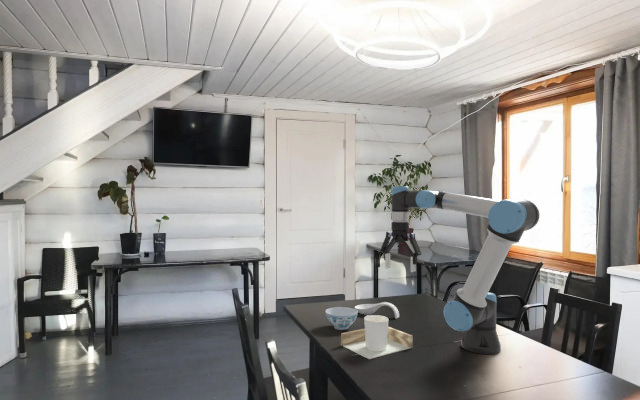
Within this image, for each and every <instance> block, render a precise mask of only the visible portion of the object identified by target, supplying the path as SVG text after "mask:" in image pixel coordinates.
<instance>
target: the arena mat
mask: <svg viewBox="0 0 640 400" xmlns="http://www.w3.org/2000/svg"><path fill="white" fill-rule="evenodd" d="M342 347H343V348H345V349H348V350H350V351H351V352H353V353H356V354H357V355H359V356H361V357H364V358H366V359H368V360H372V359H375V358H378V357H383V356H388V355H391V354H394V353H398V352H402V351H406V350H409V349H413V347H407V346H405V345H402V344H400V343H397V342H395V341H392V340H390V339H388V338H387V348H386V350H384V351H381V352H374V351H370V350H368V349H366V344H365V341H361V342H357V343H353V344H348V345H344V346H342Z"/></svg>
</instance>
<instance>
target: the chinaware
mask: <svg viewBox="0 0 640 400" xmlns="http://www.w3.org/2000/svg"><path fill="white" fill-rule="evenodd" d="M324 313H325V316H326V318H327V320H328V322H329V323H330V324H331V325H332V326H333V327H334V329H335V330H339V331H343V330H345V331H346V330H348V329H349V327H350V326H351V325H353V323H355V321H356V320H357V317H358V311H357V310H355V308H351V307H345V306H335V307H330V308H327V309H325V312H324Z"/></svg>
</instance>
